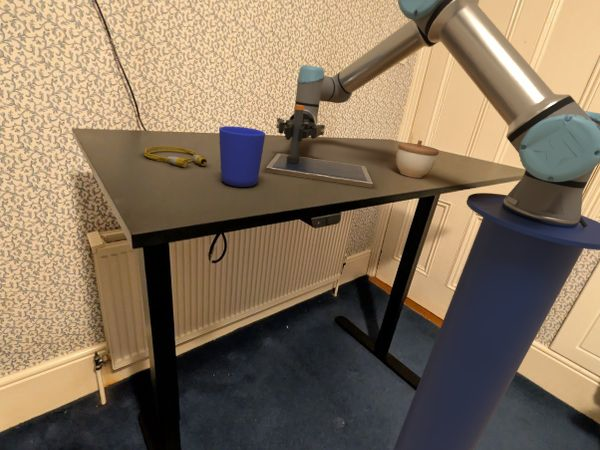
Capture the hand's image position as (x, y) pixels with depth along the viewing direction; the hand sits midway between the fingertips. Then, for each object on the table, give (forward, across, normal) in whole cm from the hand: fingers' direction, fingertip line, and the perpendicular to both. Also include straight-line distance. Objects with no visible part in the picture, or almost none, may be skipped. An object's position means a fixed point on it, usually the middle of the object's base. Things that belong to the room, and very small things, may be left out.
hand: (294, 134), depth 72 cm
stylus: (-6, 0, -7) cm, 9 cm away
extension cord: (+4, +26, -9) cm, 27 cm away
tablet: (-5, -7, -9) cm, 12 cm away
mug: (+13, +9, -9) cm, 18 cm away
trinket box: (-17, -32, -9) cm, 38 cm away
